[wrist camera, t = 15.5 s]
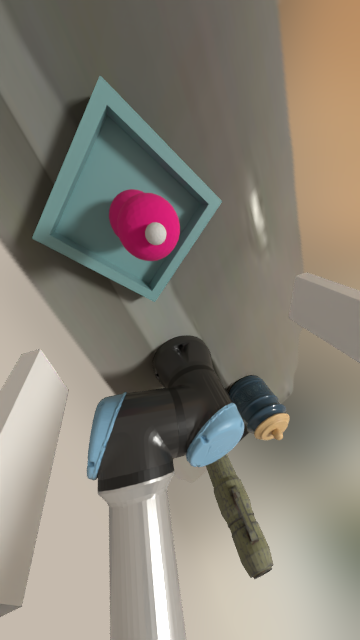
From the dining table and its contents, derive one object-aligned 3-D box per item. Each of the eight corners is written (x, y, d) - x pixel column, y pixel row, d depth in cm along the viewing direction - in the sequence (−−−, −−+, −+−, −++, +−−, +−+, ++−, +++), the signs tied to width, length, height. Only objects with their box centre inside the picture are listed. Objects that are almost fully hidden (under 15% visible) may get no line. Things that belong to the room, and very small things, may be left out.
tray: (150, 292, 41) (154, 302, 37) (41, 233, 31) (31, 238, 27) (210, 201, 36) (222, 201, 32) (101, 92, 26) (99, 75, 22)
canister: (265, 371, 67) (308, 418, 53) (256, 397, 74) (292, 445, 60) (231, 378, 64) (267, 431, 49) (224, 404, 70) (254, 458, 56)
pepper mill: (100, 221, 32) (92, 247, 15) (124, 178, 30) (144, 154, 13) (139, 249, 35) (167, 293, 19) (163, 212, 33) (216, 225, 17)
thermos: (194, 442, 78) (244, 586, 49) (191, 426, 71) (247, 580, 42) (215, 434, 79) (276, 568, 51) (214, 417, 73) (283, 560, 44)
